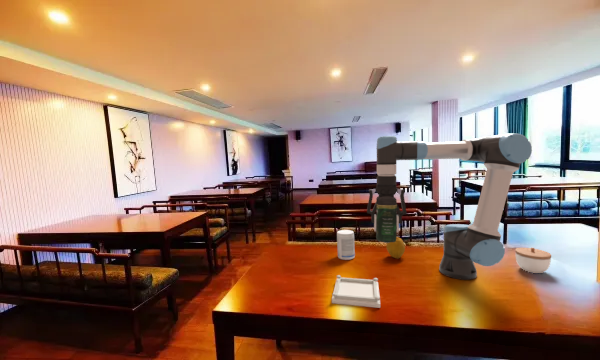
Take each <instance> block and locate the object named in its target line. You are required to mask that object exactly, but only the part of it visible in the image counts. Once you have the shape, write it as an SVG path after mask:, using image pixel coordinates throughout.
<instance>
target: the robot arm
mask: <svg viewBox="0 0 600 360" xmlns="http://www.w3.org/2000/svg"><path fill="white" fill-rule="evenodd" d="M532 147H533V146H532V144H531V142H530V140H529V139H528V137H526V136H525V135H524V134H521V133H513V132H512V133H509V132H507V133H504V134H496V135H487V136H481V137H479V138H478V137H476V138H471V139H463V140H461V141H445V142H444V141H443V142H441V141H439V142H425V141H424V140H421V141H420V140H410V141H409V140H407V141H405V140H404V141H398V138H397V137H396V136H394V135H386V136H383V135H382V136H379V137H378V138H377V140H376V174H377V176H376V186H375V188H373V189H371V188H370V189H368V194H369V197H368V202H367V206H366V207H367V208H366V213H367V214H370V215H371V216H370V217H371V219H370V221H371V223H373V229H374V230H373V231H374V232H376V210H377V202H375V204H374V206H373V208H372V203H373V198H374V197H373V196H374V195H375V192H376V193H377V195H378V196H377V197H378V198H380V197H383V196H385V195H388V196H391V197H393V198H394V197H395V195H396V194H397V193H398V195H399V199H400V204H401V209H402V210H401V209H400V207H399V205H398V204H397V226H396V233H399V232H400V231H399V230H400V229H399V228H400V227H399V226H400V225H401V224H403V223H402V220H403V219H402V218H403V216H404V215H407V214H408V213H407V212H408V211H407V206H406V203H405V192H406V191H405V190H404V189H401V188H398V186H397V161H418V160H419V161H420V160H455V159H456V160H457V159H459V160H461V161H463V162H464V161H466V162H467V161H469V162H470V161H471V162H481V163H483V166H484V167H485V168H486V172H485V175H484V179H483V185H482V187H481V192H480V195H479V199H478V203H477V207H476V210H475V215H474V217H473V222H472V224H460V223H457V224H456V223H455V224H454V223H452V224H451V223H450V224H446V225H445V226H443V227H444V228H443V255H442V258H441V260H440V263H439V266H438V267H439V272H440V273H441V274H442V275H444V276H446V277H449V278H452V279H456V280H473V279H476V278H477V277H478V271H477V268H476V265H475V264H477V265H480V266H482V267H492V266H495V265H496V264H498V263H500V262H501V261H502V260H503V258H504V257H505V253H506V249H505V247H504V244H503V243H502V242H501V238H502V235H501V233H500V232H499V227H500V223H501V219H502V215H503V211H504V208H505V204H506V200H507V197H508V193H509V191H510V190H509V189H510V185H511V181H512V178H513V174H514V173H515V172H517V171H519V169H520V166H521V164H522V163H524V162H527V161H528V160H529V158H530V157H531V155H532V151H533V150H532ZM371 209H372V210H371Z"/></svg>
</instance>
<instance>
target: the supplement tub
mask: <svg viewBox="0 0 600 360" xmlns="http://www.w3.org/2000/svg"><path fill="white" fill-rule="evenodd" d="M336 243H337V244H336V245H337V247H336V249H337V257H338V259H340V260H344V261H349V260H352V259H354V258H355V256H356V252H355V233H354V231H353V230H352V229H351V230H350V229H341V230H340V229H339V230H338V231H337V232H336Z"/></svg>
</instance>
